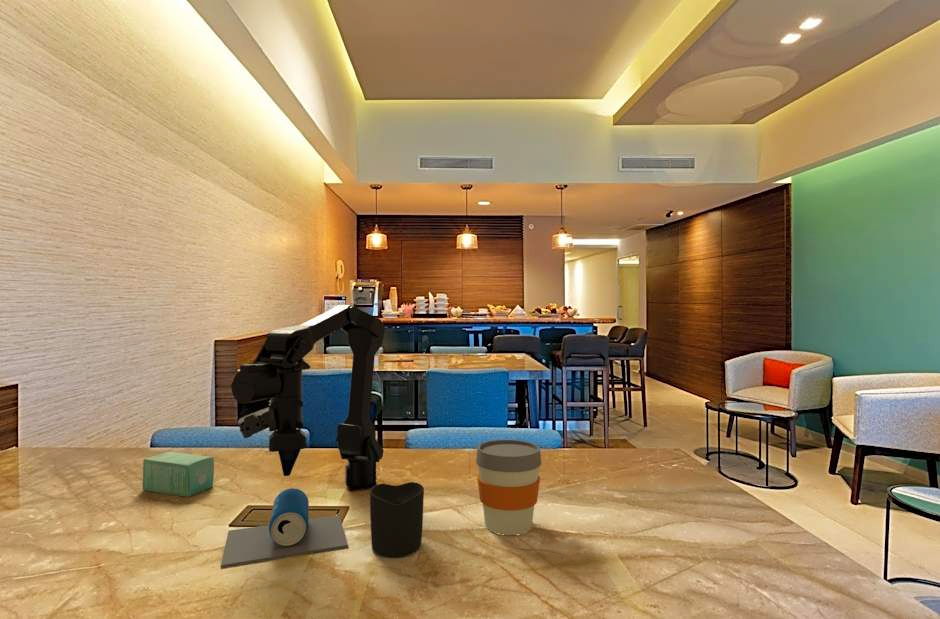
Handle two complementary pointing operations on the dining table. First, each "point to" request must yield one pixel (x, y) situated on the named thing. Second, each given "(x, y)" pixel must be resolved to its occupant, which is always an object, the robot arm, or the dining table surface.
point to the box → (178, 473)
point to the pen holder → (396, 519)
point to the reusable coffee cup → (508, 484)
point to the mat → (262, 547)
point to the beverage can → (289, 517)
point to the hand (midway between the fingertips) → (286, 475)
